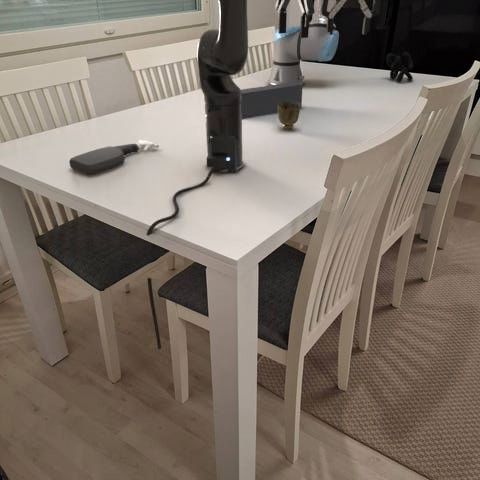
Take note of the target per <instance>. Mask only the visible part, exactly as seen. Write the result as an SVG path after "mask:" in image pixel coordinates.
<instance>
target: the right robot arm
mask: <svg viewBox="0 0 480 480" xmlns="http://www.w3.org/2000/svg"><path fill="white" fill-rule="evenodd" d="M290 2H291V0H276V2H275V6H274V9H275V11H277V12H278V28H276V29H275V30H274V32H273V40H272V46H273V48H272V49H273V50H272V53H273V54H272V68H271V70H270V75H269V78H268V86H270V85H277V84H284V83H291V82H297V83H300V84H303V85H304V80H305V75H303V74H302V73H303V72H302V68H301V61H311V62H312V61H315V62H316V61H317V62H329V61H331V60H333V58H334V56H335V54H336V53H337V52H336V51H337V49H338V44H339V38H340V33H339V31H338V30H336V29H337V26H336V24H335V23H334V24H333V35H329V32H327V17H325V16H323V15H322V14H321V6H322V0H314V1H313V0H297V2H298V5H299V9H300V11H301V15H300V25H289V26H287V16H288V11H287V10H288V9H287V8H288V6H289V4H290ZM336 2H337V0H328V6H327V11H328V12H330V10H331V9H332V8H333V6H334V5H335V3H336ZM311 17H312V18H311ZM334 17H335V16H334ZM334 17H333V19H335V18H334ZM310 18H311V21H310Z"/></svg>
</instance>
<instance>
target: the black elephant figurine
mask: <svg viewBox="0 0 480 480" xmlns="http://www.w3.org/2000/svg"><path fill="white" fill-rule="evenodd" d="M401 57H402V59H401ZM391 59H392V60H391ZM393 60H394V61H393ZM385 61H386V64H387V67H390V68H391V70H390V72H389V78H390V79H391V80H395V79H396V81H397V82H399V83H400V82H402V81H403V79H404V76H406V78H407V80H408V81H412V80H413V79H414V77H413V75H412V74H411V73H410V72H409V71H410V70H412V69H413V68H414V64H413V61H412V57H411V54H410V53H409V52H408V51H403V53H402V54H401V55H396V54H394V53H392V52H390V53H387V55H386V57H385ZM406 62H407V65H408V66H407V67H405V66H404V65H405V64H406ZM400 70H401V71H400Z"/></svg>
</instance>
